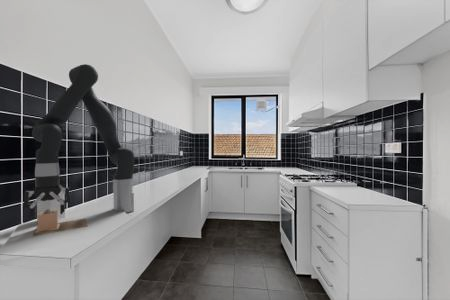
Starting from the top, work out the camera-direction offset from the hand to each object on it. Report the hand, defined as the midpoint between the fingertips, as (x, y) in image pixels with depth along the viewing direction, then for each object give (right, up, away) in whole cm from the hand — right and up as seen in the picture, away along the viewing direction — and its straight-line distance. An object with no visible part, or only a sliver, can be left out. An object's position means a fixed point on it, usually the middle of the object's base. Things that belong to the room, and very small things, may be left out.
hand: (48, 215), depth 88 cm
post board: (+4, -7, +3) cm, 8 cm away
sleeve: (0, -5, 0) cm, 5 cm away
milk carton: (-8, -7, +12) cm, 16 cm away
